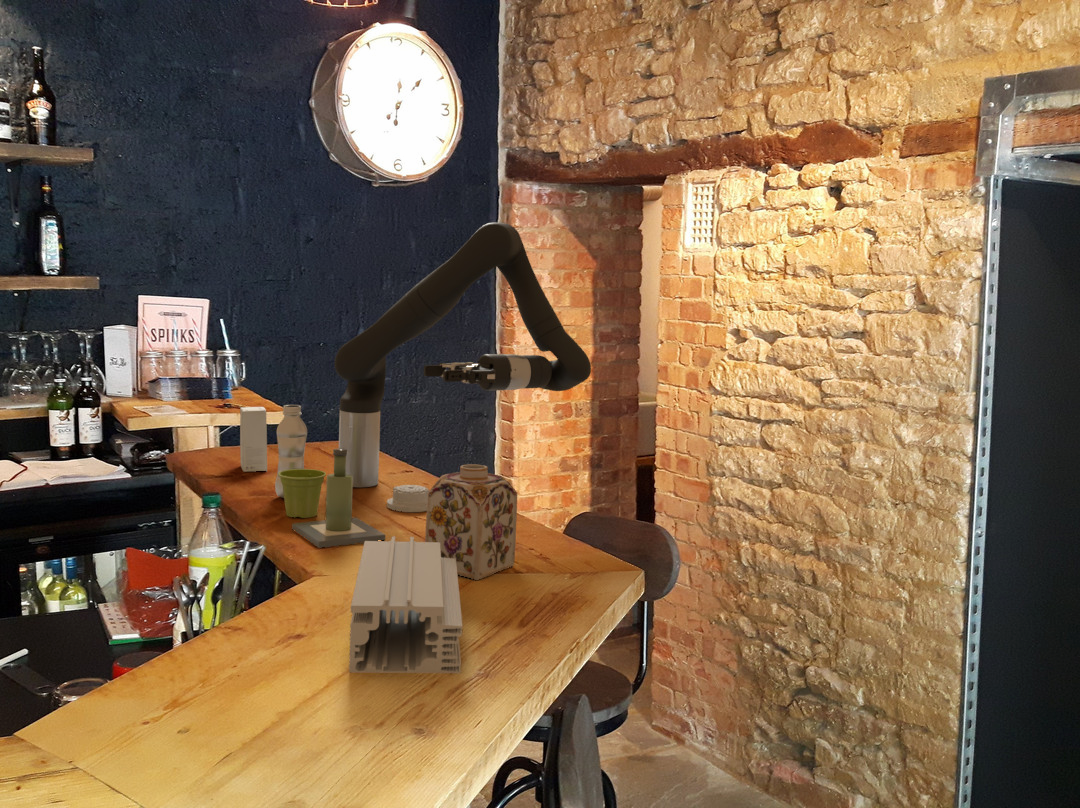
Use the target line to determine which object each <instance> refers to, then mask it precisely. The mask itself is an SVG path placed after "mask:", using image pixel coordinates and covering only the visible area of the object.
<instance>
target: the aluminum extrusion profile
mask: <svg viewBox="0 0 1080 808" xmlns="http://www.w3.org/2000/svg"><path fill="white" fill-rule="evenodd" d="M360 556H361V557H360V562H359V566H358V572H357V576H356V580H355V586H354V590H353V595H352V598H351V599H352V600H351V604H350V613H351V614H352V616H351V620H350V624H349V625H350V626H349V629H350V631H349V632H350V633H349V665H348V667H349V668H348V671H349V673H364V674H365V673H367V674H368V673H371V674H372V673H376V674H378V673H379V674H380V673H384V674H385V673H386V674H387V673H388V674H389V673H391V674H392V673H393V674H396V673H397V674H401V673H402V674H404V673H405V674H462V672H461V666H462V660H461V647H460V639H459V638H460V637H462V636H463V627H464V625H463V615H462V606H461V605H462V604H461V597H460V586H459V576H458V575H457V566H456V559H455V558H454V559H453V558H451V559H450V558H442V557H441V548H440V542H425V541H416V540H415V537H414V536H410V537H409V541H396V536H391V539H390V540H388V541H387V540H385V541H365V542H364V543H363V547H362V553H361V555H360Z"/></svg>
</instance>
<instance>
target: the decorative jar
mask: <svg viewBox="0 0 1080 808" xmlns="http://www.w3.org/2000/svg"><path fill="white" fill-rule="evenodd" d="M459 468H460V470H459V472H458V471H457V472H451V473H446V474H442V475H441V476H440V477H439V478H438V480H437V481H436V482H435V483H434V484H433V486H432V487H431V488H430V489H429V491H428V501H427V511H426V517H425V532H424V533H425V537H424V538H425V539H424V542H440V548H441V557H442V558H450V559H451V558H453V559H454V558H455V559H456V566H457V575H460V576H459V577H461V576H464V577H463V578H465V577H468V578H467V579H469V578H471V579H470V580H473V579H474V581H480V580H482V579H484V577H485V578H487V576H488V577H490V576H492V575H491V574H493V575H495V574H494V573H496V572H498V571H500V572H502V571H501V570H503V569H505V570H507V569H506V568H508V567H510V568H512V567H513V566H514V564H515V558H516V556H515V555H516V545H517V543H516V541H517V522H518V521H517V517H518V515H517V514H518V512H517V511H518V492H517V491H516V490H515V488H514V487H513V486H512V484H511V482H509V481H508V480H507V479H506V478H505V477H504V476H502V475H500V474H499V475H498V474H494V473H489V472H488V469H489V468H488V466H487V465H484V464H483V465H482V464H476V463H473V464H472V463H471V464H470V463H469V464H463V465H460V467H459ZM511 566H512V567H511ZM508 569H509V568H508ZM503 571H504V570H503ZM498 573H499V572H498ZM496 574H497V573H496ZM489 575H490V576H489ZM479 579H480V580H479Z"/></svg>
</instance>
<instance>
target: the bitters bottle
mask: <svg viewBox="0 0 1080 808" xmlns="http://www.w3.org/2000/svg"><path fill="white" fill-rule="evenodd" d="M332 451H333V452H332V455H333V473H330V474H326V487H325V488H326V489H325V491H326V492H325V493H326V494H325V500H326V501H325V520H326V529H327V530H332V531H345V530H350V529H351V524H352V518H353V516H352V514H353V513H352V512H353V487H352V484H353V476H352V475H350V474H346V456H347V449H339V448H333V450H332Z"/></svg>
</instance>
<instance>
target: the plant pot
mask: <svg viewBox="0 0 1080 808" xmlns="http://www.w3.org/2000/svg"><path fill="white" fill-rule="evenodd" d="M278 476H279V477H280V479H281V483H282V485H283V493H284V498H283V500H284V507H285V515H286V517H290V518H292V517H294V518H295V519H296V518H297V517H298V518H301V519H308V518H313V517H316V516H317V515H318V511H319V505H320V496H321V491H322V484H323V483H324V480H325V477H327V472H326V471H324V470H320V469H319V470H318V469H313V468H312V469H311V468H304V469H291V470H284V471H281V472H279V473H278ZM294 518H293V519H294Z"/></svg>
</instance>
